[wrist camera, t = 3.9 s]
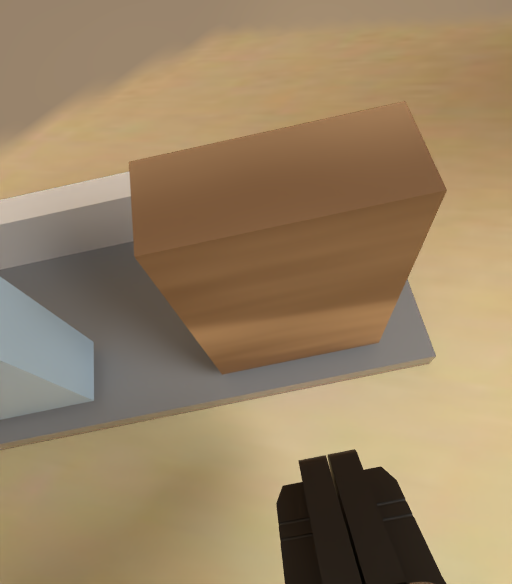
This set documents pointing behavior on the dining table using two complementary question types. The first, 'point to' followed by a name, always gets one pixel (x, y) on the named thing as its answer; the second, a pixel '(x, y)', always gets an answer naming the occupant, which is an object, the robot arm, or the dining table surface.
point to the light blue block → (40, 358)
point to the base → (147, 319)
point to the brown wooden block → (287, 234)
